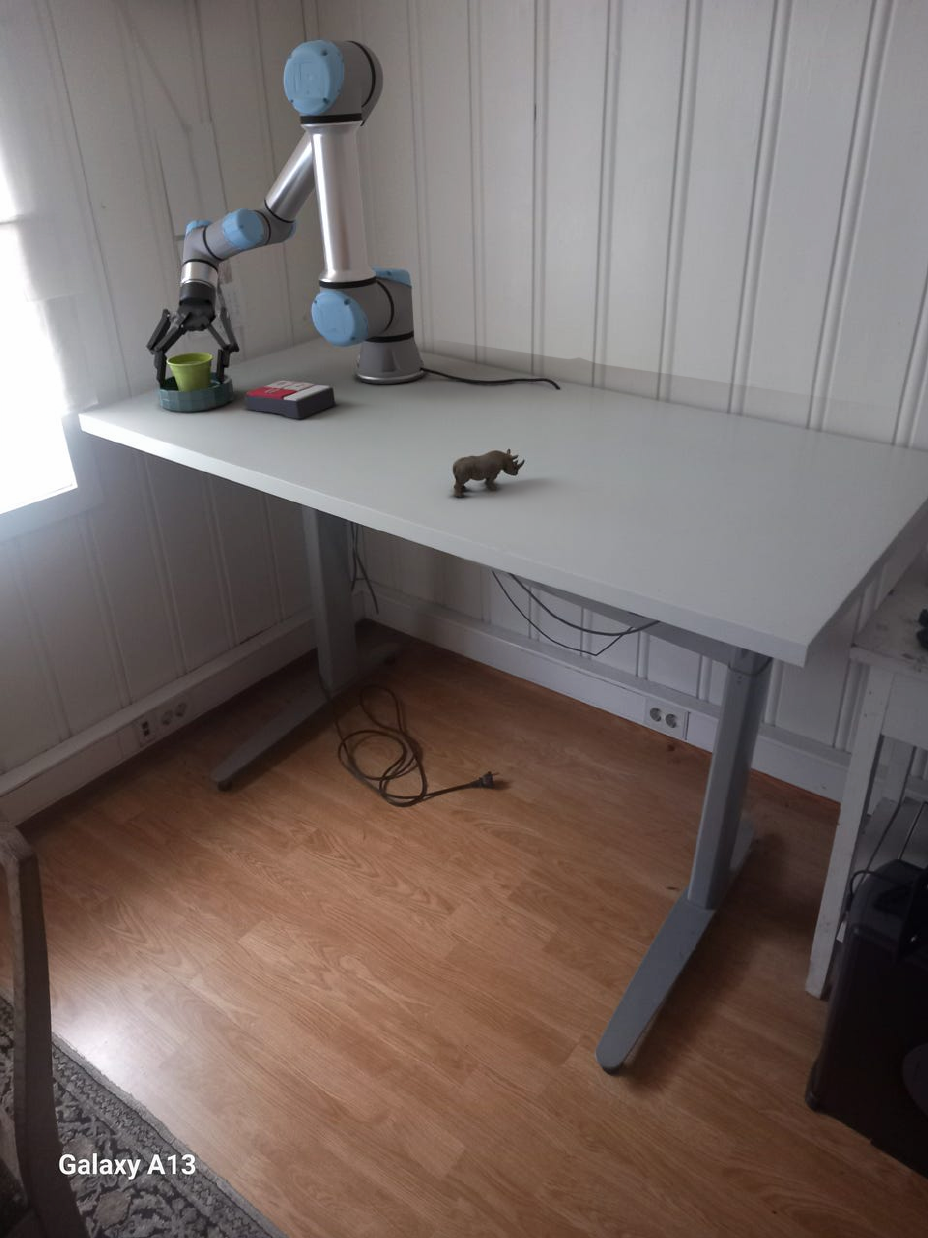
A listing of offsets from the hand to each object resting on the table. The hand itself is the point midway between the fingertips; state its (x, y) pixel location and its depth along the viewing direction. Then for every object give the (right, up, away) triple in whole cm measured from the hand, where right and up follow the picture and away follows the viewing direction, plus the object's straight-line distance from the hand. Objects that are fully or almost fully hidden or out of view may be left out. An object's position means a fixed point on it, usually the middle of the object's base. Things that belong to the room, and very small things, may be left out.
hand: (189, 381), depth 200 cm
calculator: (+21, -6, -1) cm, 22 cm away
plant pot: (0, -3, +5) cm, 5 cm away
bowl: (0, -3, +5) cm, 6 cm away
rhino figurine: (+61, -28, -44) cm, 80 cm away
